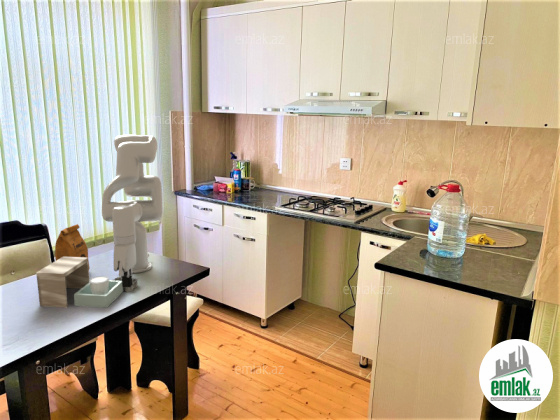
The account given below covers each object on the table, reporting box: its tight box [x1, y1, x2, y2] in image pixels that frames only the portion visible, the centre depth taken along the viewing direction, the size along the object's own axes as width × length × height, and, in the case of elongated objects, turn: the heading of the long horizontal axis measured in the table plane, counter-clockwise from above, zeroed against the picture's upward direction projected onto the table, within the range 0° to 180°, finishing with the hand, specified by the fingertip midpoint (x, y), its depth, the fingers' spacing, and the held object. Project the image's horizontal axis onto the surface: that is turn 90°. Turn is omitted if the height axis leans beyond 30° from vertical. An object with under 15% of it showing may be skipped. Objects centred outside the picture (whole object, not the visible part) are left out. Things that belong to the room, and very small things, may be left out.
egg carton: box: [113, 275, 139, 293], centre depth 167 cm, size 11×8×4 cm
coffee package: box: [54, 223, 90, 270], centre depth 175 cm, size 10×12×22 cm
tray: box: [73, 279, 124, 308], centre depth 156 cm, size 14×12×4 cm
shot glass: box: [89, 275, 110, 295], centre depth 156 cm, size 7×7×7 cm
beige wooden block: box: [35, 257, 91, 308], centre depth 156 cm, size 17×10×13 cm, turn 177°
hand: (127, 286), depth 154 cm, fingers closed
